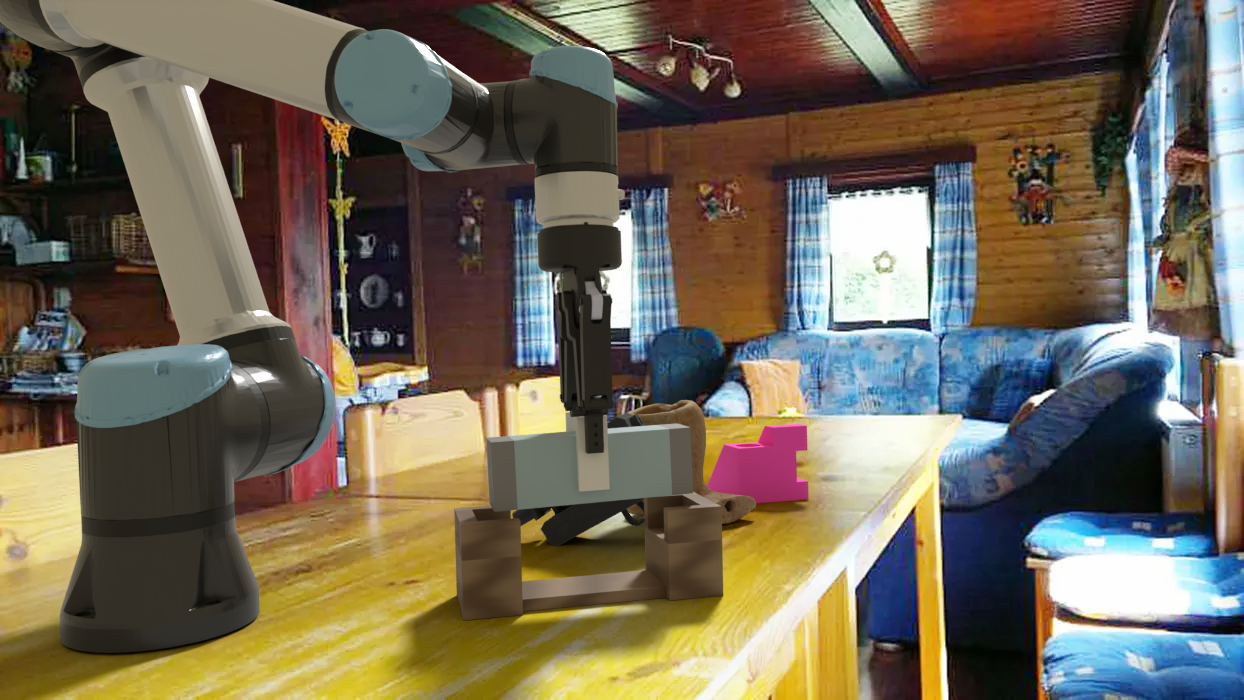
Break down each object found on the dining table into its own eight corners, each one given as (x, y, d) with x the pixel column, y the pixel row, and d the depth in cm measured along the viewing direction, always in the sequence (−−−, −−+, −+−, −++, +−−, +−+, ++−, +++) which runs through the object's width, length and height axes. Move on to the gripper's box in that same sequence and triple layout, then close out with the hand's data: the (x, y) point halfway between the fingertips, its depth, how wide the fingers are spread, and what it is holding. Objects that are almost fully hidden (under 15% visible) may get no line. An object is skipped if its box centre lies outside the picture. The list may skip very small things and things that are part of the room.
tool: (702, 523, 102) (631, 403, 103) (555, 605, 105) (488, 489, 107) (708, 512, 108) (641, 399, 109) (569, 591, 111) (506, 480, 113)
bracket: (808, 499, 131) (806, 425, 130) (739, 505, 128) (738, 429, 127) (771, 486, 142) (769, 418, 142) (707, 491, 139) (705, 422, 139)
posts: (463, 620, 79) (460, 525, 79) (456, 594, 87) (454, 508, 86) (723, 595, 84) (721, 506, 84) (695, 573, 92) (693, 491, 92)
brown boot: (604, 522, 118) (601, 402, 118) (660, 507, 127) (657, 396, 127) (706, 536, 109) (703, 406, 108) (758, 518, 118) (756, 399, 118)
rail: (494, 511, 81) (490, 442, 81) (489, 503, 85) (486, 437, 85) (693, 493, 86) (690, 427, 85) (680, 486, 89) (677, 423, 89)
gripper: (643, 213, 77) (653, 497, 78) (599, 236, 94) (607, 470, 94) (553, 214, 76) (564, 505, 76) (524, 237, 92) (533, 475, 93)
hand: (588, 485), depth 85 cm, fingers closed on rail, 4 cm apart
